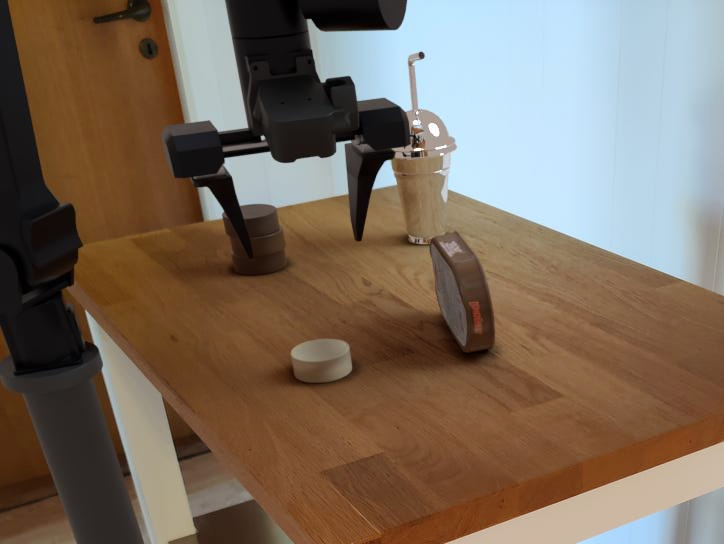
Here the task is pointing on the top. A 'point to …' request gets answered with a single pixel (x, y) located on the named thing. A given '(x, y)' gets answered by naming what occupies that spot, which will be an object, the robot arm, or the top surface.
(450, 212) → the top surface
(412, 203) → the cup with straw
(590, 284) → the top surface
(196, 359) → the top surface
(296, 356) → the birch chip
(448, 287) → the tin
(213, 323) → the top surface
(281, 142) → the robot arm
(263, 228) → the chip pile
